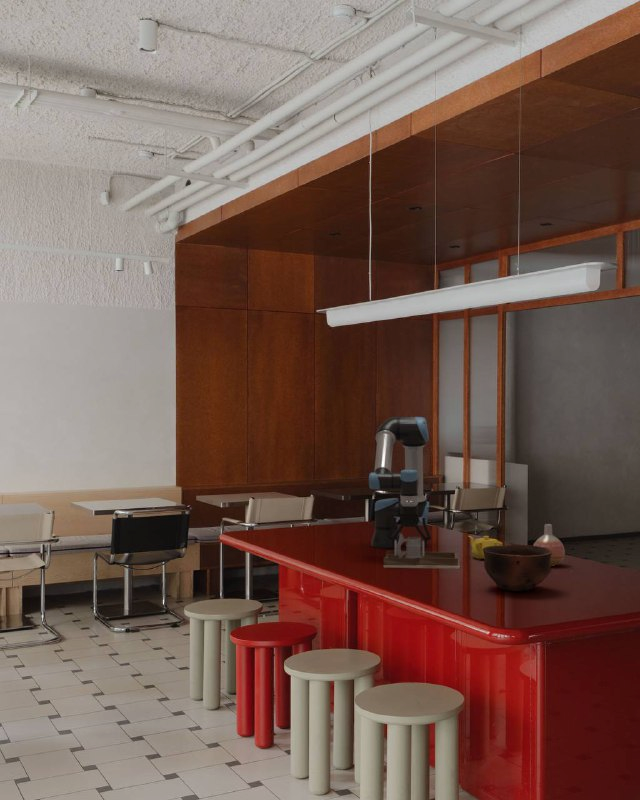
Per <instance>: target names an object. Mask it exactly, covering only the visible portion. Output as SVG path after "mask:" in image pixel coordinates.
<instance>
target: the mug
mask: <svg viewBox="0 0 640 800" xmlns="http://www.w3.org/2000/svg"><path fill="white" fill-rule="evenodd" d="M399 534H400V538H399V541H398V544H397V547H396V549H397V555H398V556H399V558H401V557H402V556H404V555H405V558H418V557H420V558H423V555H422V552H423V545H422V541H423V540H422V538H421V537H420V536H408V537H406V538H405V537H404V535H403V533H401V532H400V533H399ZM403 543H405V547H406V548H405V549H406V550H402V549H401V548H402V547H401V544H402V545H403ZM402 551H404V552H402Z"/></svg>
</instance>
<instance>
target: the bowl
mask: <svg viewBox="0 0 640 800" xmlns="http://www.w3.org/2000/svg"><path fill="white" fill-rule="evenodd" d="M483 552H484V557H485V559H484V565H483V566H484V569H485V572H486V573H487V575H488V576H489V578H491V579H492V581H493V582H494V583H495V585H497V587H498V588H499V589H500V590H503V591H512V592H524V591H525V592H526V591H530V590H532V589H533V588H535V587H536V586H537V585H539V584H541V583H542V582H544V580H545V579H546V578H547V577H548V576H549V575H550V573H551V571H552V567H551V565H550V559H551V554H552V551H551V550H549V549H546V548H543V547H538V546H533V545H531V544H530V545H529V544H506V545H505V544H504V545H502V546H490V547H485V548H483Z"/></svg>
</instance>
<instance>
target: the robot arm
mask: <svg viewBox="0 0 640 800" xmlns="http://www.w3.org/2000/svg"><path fill="white" fill-rule="evenodd" d="M427 423H428V422H427V419H426V418H425V417H424V416H423V417H422V416H393V417H392V416H391V417H389V418H388V419H386V420H384V421H383V422H382V423H381V424H380V425H379V427H378V428H377V430H376V433H375V441H376V452H375V460H374V461H375V462H374V471H373V472H370V473H369V475H368V486H369V489H370V490H381V491H382V490H394V491H395V490H396V491H397V490H398V491H399V490H400V501H399V498H397V497H396V498H395V497H393V498H391V497H390V498H384V499H379V500H377V501H376V502H375V503H374V532H373V535H372V539H371V542H370V543H371V544H370V545H371V547H372V548H377V549H394V551H395V556H396V555H397V549H396V547H397V544H398V541H399V538H400V533H401V532H402V530H403V528H404V527H405V528H409V527H410V528H415V529H416V531H417V532H418V534H419V535H420V536H421V537H422V538H421V539H423V540H422V552H423V556H424V552H425V549H427V548H428V541H429V540H431V539H432V536H431V534H430V531H429V528H428V526H427V523H428V516H429V508H430V502H429V501H428V500H427V497H426V495H424V463H423V462H424V454H423V453H424V452H423V449H424V447H425V446H426V445H427V442H429V440H430V439H429V437H430V436H429V430H428V424H427ZM395 442H401V446H402V447H403V448H404V467H405V468H404V469H402V470H401V471H400V472H392V463H393V447H394V444H395ZM420 526H423V529H424V532H425V533H426V535H425V533H424V532H423V531H422V529H421V527H420ZM402 547H403V543H402V544H401V548H402Z"/></svg>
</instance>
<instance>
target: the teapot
mask: <svg viewBox="0 0 640 800" xmlns="http://www.w3.org/2000/svg"><path fill="white" fill-rule="evenodd" d="M482 536H483V537H481V538H480V537H479V538H475V539H474V537H473V536H471V535H467V537H468V538H469V539H470V546H471V547H470V548H471V554H472V557H473V558H475V559H476V560H482V559H483V560H485V557H484V552H483V548H485V547H490V546H503V542H501V541H499V540H498V539H495V538H489V537H490V536H489V535H482Z"/></svg>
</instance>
